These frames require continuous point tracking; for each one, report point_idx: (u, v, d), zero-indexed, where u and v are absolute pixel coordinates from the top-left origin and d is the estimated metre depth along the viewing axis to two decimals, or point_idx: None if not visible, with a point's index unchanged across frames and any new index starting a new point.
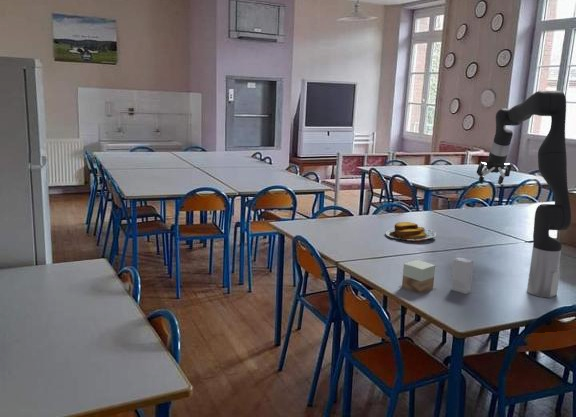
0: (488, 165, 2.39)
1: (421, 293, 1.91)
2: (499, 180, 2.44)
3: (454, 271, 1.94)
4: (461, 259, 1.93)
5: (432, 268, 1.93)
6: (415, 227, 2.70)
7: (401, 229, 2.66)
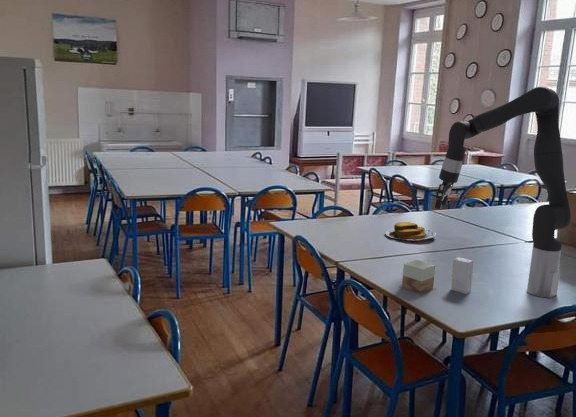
0: (446, 186, 2.17)
1: (421, 293, 1.91)
2: (443, 201, 2.26)
3: (454, 271, 1.94)
4: (461, 259, 1.93)
5: (432, 268, 1.93)
6: (415, 227, 2.70)
7: (401, 229, 2.66)
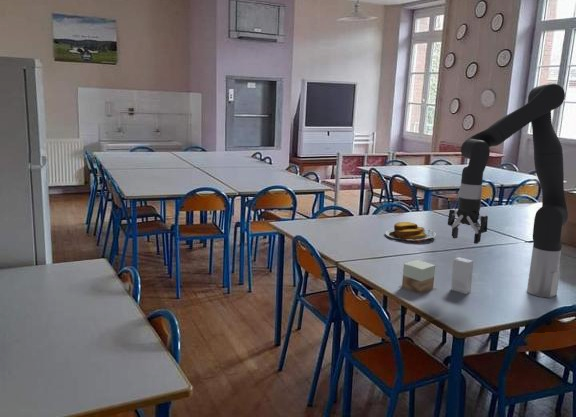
0: None
1: (421, 293, 1.91)
2: (456, 233, 1.94)
3: (454, 271, 1.94)
4: (461, 259, 1.93)
5: (432, 268, 1.93)
6: (415, 227, 2.70)
7: (401, 229, 2.66)
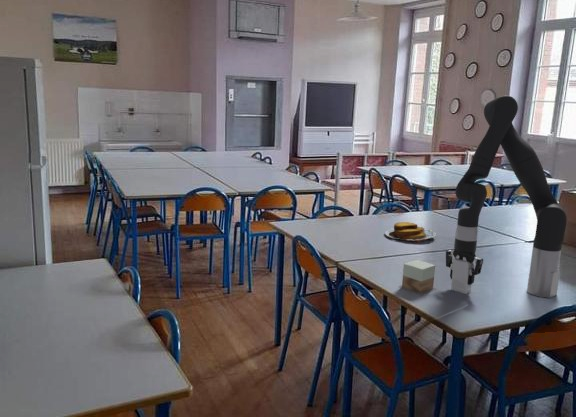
0: None
1: (421, 293, 1.91)
2: None
3: (454, 271, 1.94)
4: None
5: (432, 268, 1.93)
6: (414, 227, 2.70)
7: (400, 229, 2.66)
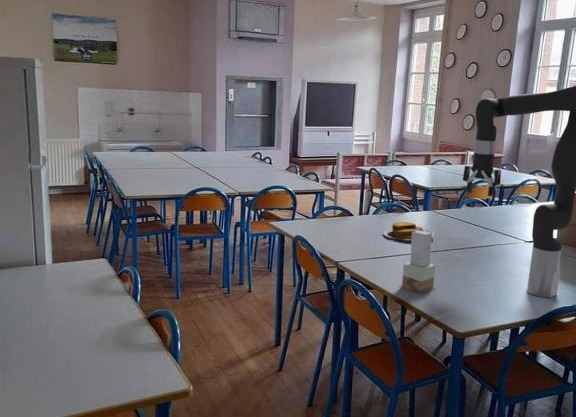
0: None
1: (421, 293, 1.91)
2: (470, 188, 2.08)
3: (413, 243, 1.93)
4: (420, 232, 1.92)
5: (432, 268, 1.93)
6: (413, 227, 2.70)
7: (399, 229, 2.66)
